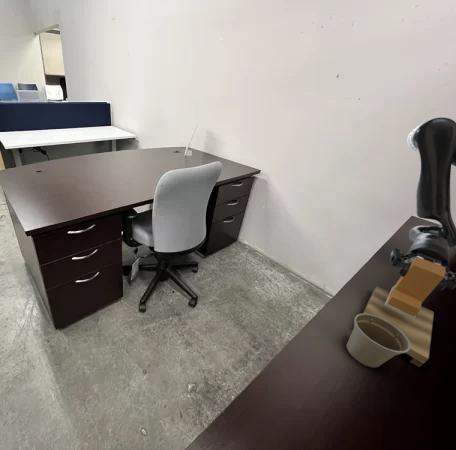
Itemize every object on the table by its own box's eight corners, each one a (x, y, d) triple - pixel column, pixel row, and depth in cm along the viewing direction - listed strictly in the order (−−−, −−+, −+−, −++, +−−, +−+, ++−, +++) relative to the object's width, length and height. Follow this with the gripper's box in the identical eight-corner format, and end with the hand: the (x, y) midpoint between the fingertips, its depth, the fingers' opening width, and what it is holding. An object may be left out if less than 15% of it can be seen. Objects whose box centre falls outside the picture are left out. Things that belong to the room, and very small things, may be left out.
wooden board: (370, 295, 73) (377, 286, 71) (424, 322, 65) (434, 311, 63) (353, 332, 61) (361, 321, 59) (417, 369, 53) (428, 358, 51)
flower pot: (390, 357, 55) (412, 333, 51) (385, 386, 49) (409, 362, 45) (343, 330, 61) (359, 306, 57) (333, 353, 55) (350, 329, 51)
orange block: (391, 287, 66) (415, 255, 60) (418, 299, 62) (446, 266, 57) (384, 305, 60) (409, 271, 54) (413, 320, 56) (443, 285, 51)
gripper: (401, 232, 69) (390, 252, 59) (476, 257, 60) (477, 286, 50) (387, 253, 73) (374, 275, 63) (455, 279, 64) (453, 310, 54)
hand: (420, 280), depth 57 cm, fingers closed on orange block, 5 cm apart
